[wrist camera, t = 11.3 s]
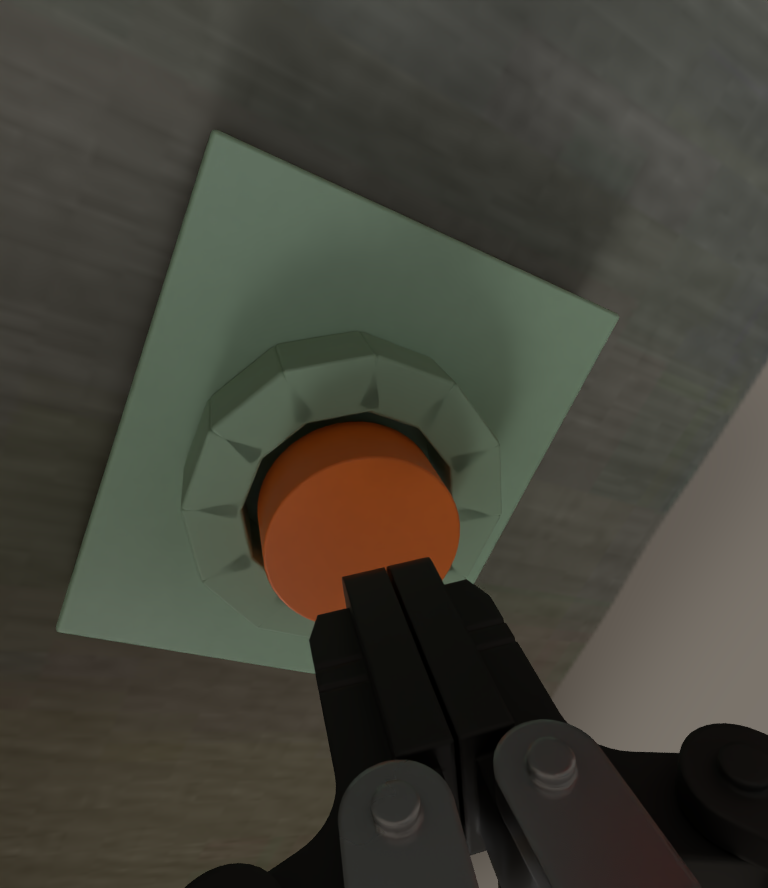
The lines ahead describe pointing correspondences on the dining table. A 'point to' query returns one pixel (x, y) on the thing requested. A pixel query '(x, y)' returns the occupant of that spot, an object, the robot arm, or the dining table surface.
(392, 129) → the dining table surface
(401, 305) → the block
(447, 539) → the power button
